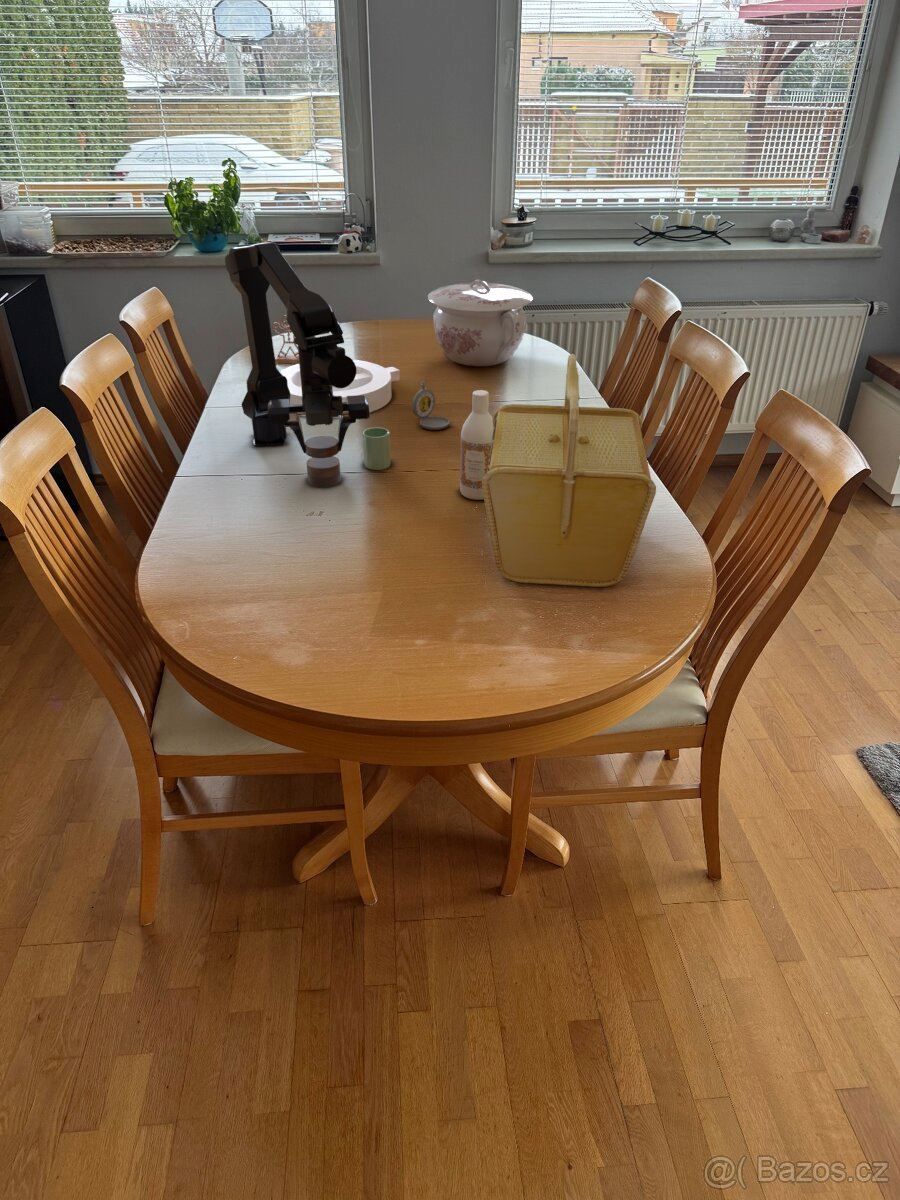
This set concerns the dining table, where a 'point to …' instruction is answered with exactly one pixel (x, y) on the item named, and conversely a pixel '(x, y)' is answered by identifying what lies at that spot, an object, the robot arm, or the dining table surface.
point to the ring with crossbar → (352, 384)
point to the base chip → (324, 481)
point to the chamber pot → (479, 321)
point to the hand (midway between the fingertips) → (322, 451)
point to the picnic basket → (566, 491)
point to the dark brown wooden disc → (321, 446)
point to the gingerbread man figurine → (284, 357)
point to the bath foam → (476, 446)
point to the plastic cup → (376, 448)
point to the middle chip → (323, 467)
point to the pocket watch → (427, 409)
